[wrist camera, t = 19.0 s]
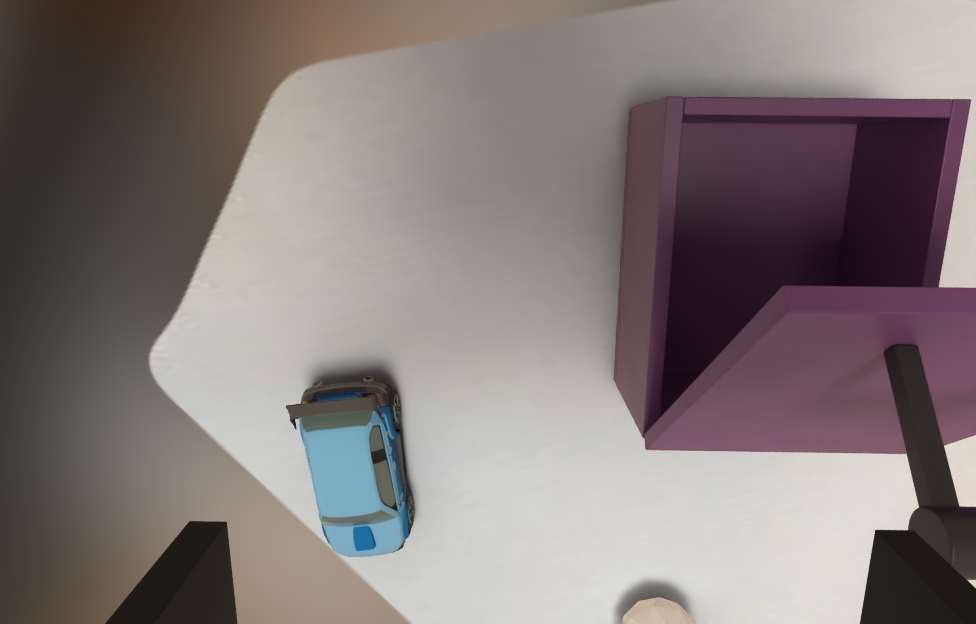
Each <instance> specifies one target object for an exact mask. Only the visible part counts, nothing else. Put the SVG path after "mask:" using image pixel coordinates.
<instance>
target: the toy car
mask: <svg viewBox="0 0 976 624" xmlns="http://www.w3.org/2000/svg"><path fill="white" fill-rule="evenodd" d="M286 408H287V409H288V412H289V414H290V421H291V422H292V424H293V425H294V427H295V429H296V423H295V419H298V418H299V422H300V431H301V436H302V439H303V443H304V446H305V450H306V455H307V459H308V463H309V468H310V472H311V476H312V481H313V486H314V491H315V496H316V501H317V505H318V510H319V518H320V521H321V523H322V528H323V532H324V535H325V537H326V539H327V541H328V543H329V544H330V545H331V546H332V548H333V550H334V551H335V552H337V553H339V554H341V555H344V556H348V557H365V556H375V555H382V554H387V553H392V552H395V551H397V550H400V549H401V548H403V546H404V543H405V539H407V538H408V536H409V534H410V531H411V528H412V525H413V521H414V506H413V500H412V496H411V494H410V492H409V491H408V490H407V480H406V472H405V463H404V454H403V445H402V437H401V429H397V428H398V426H399V423H400V415H401V412H400V403H399V399H398V395H397V393H396V391H395V390H394V389H393V388H392V387H391V386H390V385H389V384H387V383H386V382H385V381H373V378H372V377H370V376H365V377H363V381H356V382H346V383H337V384H329V385H323V383H322V381H319V382H317V383H315V384H314V385H313V388H310V389H307V390H305V392H304V393H303V396H302V400H301V404H296V405H287V406H286Z"/></svg>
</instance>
